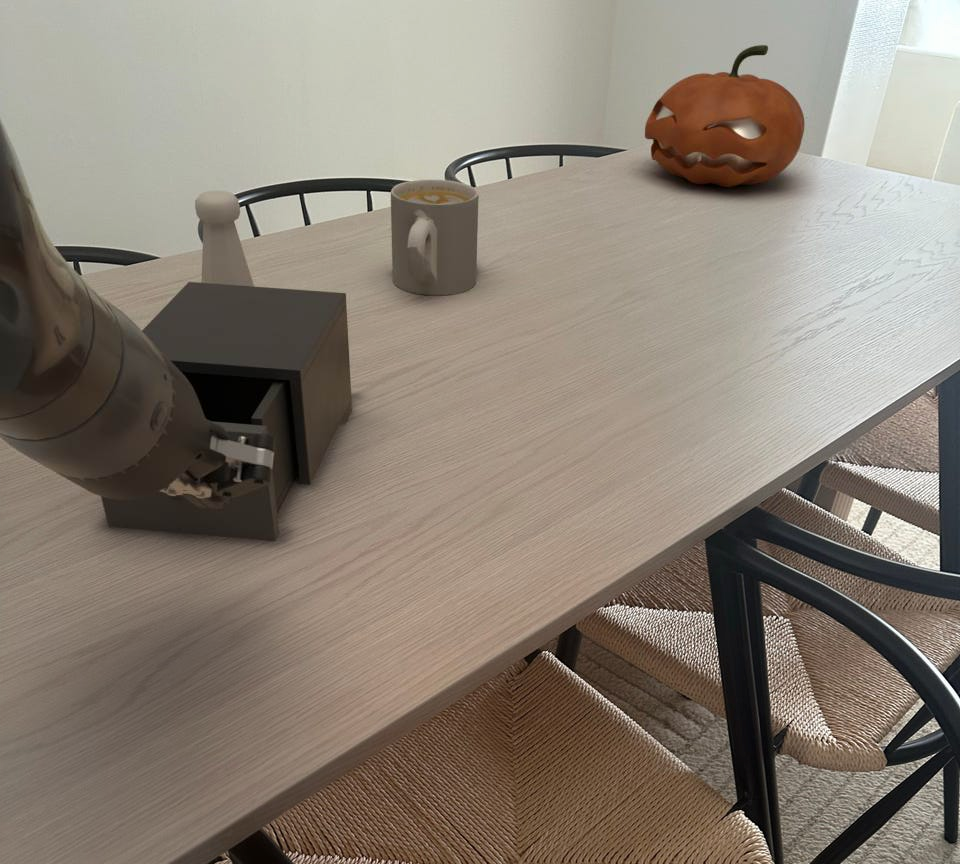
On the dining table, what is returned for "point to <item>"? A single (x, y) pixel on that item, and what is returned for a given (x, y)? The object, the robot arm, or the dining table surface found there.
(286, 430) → the dark grey drawer
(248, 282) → the salt shaker
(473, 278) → the coffee mug
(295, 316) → the dark grey drawer box
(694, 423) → the dining table surface
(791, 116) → the pumpkin
